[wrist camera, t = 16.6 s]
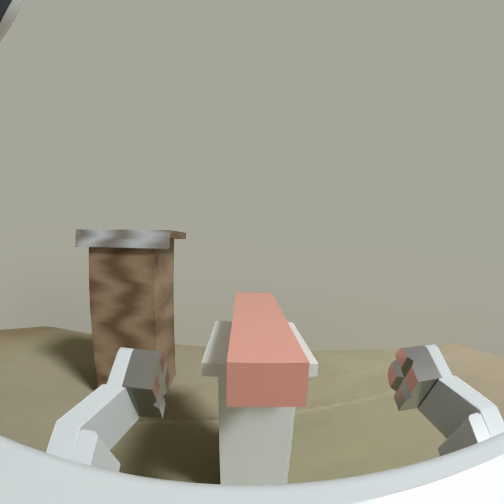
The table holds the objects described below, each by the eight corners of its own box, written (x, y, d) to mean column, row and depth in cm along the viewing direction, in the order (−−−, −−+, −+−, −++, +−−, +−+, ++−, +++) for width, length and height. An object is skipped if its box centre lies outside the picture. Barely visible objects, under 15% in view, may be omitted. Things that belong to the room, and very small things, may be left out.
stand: (208, 510, 21) (201, 362, 21) (217, 442, 33) (215, 321, 33) (298, 510, 22) (318, 363, 21) (284, 442, 34) (292, 322, 33)
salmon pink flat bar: (226, 406, 15) (226, 362, 15) (235, 313, 37) (236, 292, 37) (305, 406, 15) (309, 362, 15) (270, 314, 37) (271, 292, 37)
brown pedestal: (86, 394, 41) (75, 229, 40) (114, 366, 54) (109, 231, 53) (172, 406, 42) (168, 230, 41) (186, 374, 54) (185, 232, 53)
